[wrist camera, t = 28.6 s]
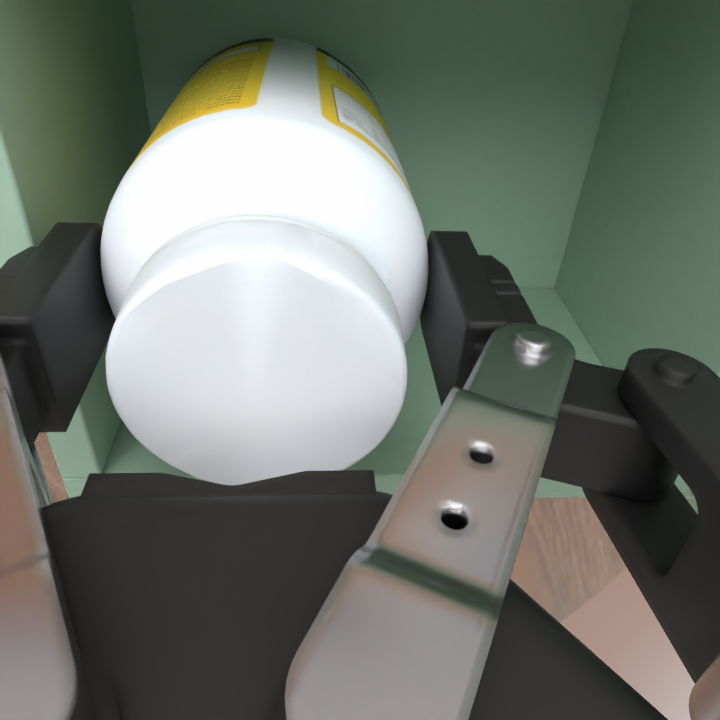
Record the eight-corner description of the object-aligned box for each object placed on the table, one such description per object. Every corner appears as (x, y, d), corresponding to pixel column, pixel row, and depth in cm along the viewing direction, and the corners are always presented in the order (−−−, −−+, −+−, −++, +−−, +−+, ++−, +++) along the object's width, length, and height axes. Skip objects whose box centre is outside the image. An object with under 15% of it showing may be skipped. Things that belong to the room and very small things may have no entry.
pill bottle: (142, 187, 19) (-15, 453, 10) (228, -21, 16) (117, 85, 7) (323, 277, 22) (333, 560, 12) (429, 111, 18) (551, 322, 9)
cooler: (155, 291, 25) (69, 505, 16) (79, -162, 16) (-189, -231, 8) (563, 296, 26) (689, 497, 17) (684, -120, 18) (1043, -137, 9)
